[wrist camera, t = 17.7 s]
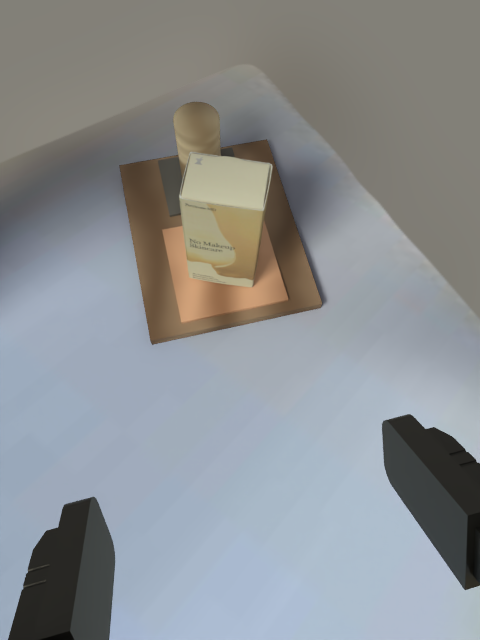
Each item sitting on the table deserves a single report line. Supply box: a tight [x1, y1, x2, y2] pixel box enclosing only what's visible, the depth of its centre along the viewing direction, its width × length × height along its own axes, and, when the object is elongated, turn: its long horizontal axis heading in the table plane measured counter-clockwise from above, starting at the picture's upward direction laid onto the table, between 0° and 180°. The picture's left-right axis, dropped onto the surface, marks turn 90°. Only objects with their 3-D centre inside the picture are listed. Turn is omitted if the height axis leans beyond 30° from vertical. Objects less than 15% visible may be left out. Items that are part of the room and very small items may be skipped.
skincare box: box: [179, 152, 273, 287], centre depth 38 cm, size 6×4×12 cm
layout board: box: [119, 102, 322, 345], centre depth 42 cm, size 16×20×9 cm
